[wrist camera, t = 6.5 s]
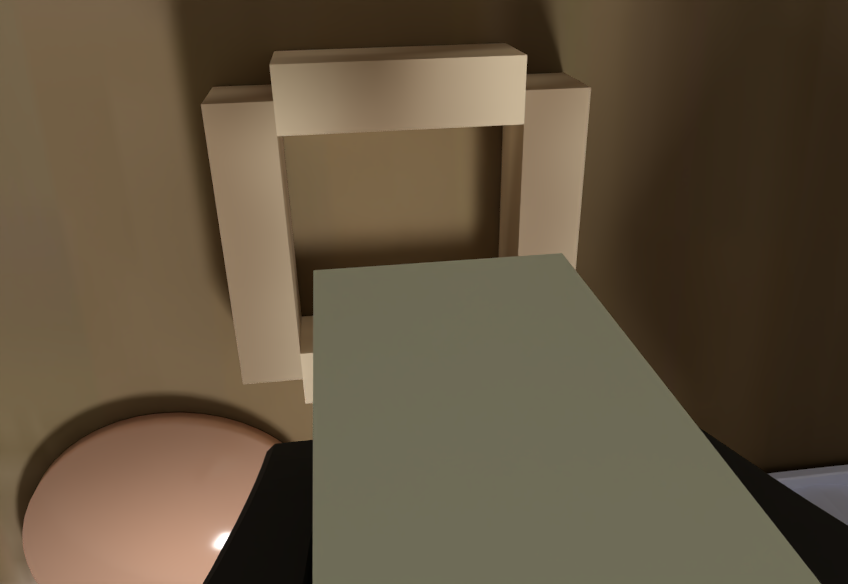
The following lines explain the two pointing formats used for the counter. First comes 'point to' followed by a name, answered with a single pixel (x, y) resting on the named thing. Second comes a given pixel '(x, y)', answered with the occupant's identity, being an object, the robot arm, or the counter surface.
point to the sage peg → (511, 440)
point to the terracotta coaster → (143, 500)
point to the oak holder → (369, 112)
